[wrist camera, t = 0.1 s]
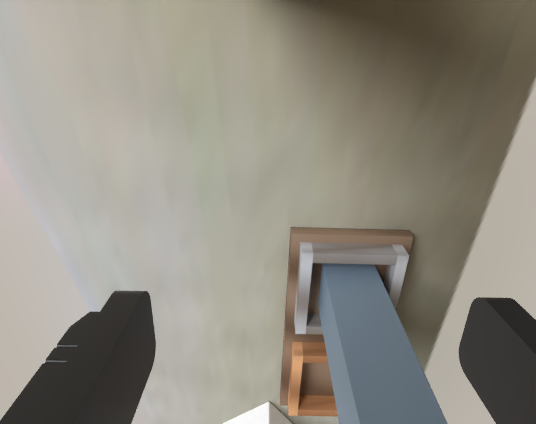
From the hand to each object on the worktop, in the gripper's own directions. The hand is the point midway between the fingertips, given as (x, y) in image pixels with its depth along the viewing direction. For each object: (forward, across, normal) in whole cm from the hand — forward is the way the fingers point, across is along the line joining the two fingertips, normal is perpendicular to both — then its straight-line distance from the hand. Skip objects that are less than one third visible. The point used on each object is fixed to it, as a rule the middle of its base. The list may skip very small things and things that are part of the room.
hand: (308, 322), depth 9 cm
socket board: (+18, -5, +15) cm, 24 cm away
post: (+17, -5, +10) cm, 20 cm away
